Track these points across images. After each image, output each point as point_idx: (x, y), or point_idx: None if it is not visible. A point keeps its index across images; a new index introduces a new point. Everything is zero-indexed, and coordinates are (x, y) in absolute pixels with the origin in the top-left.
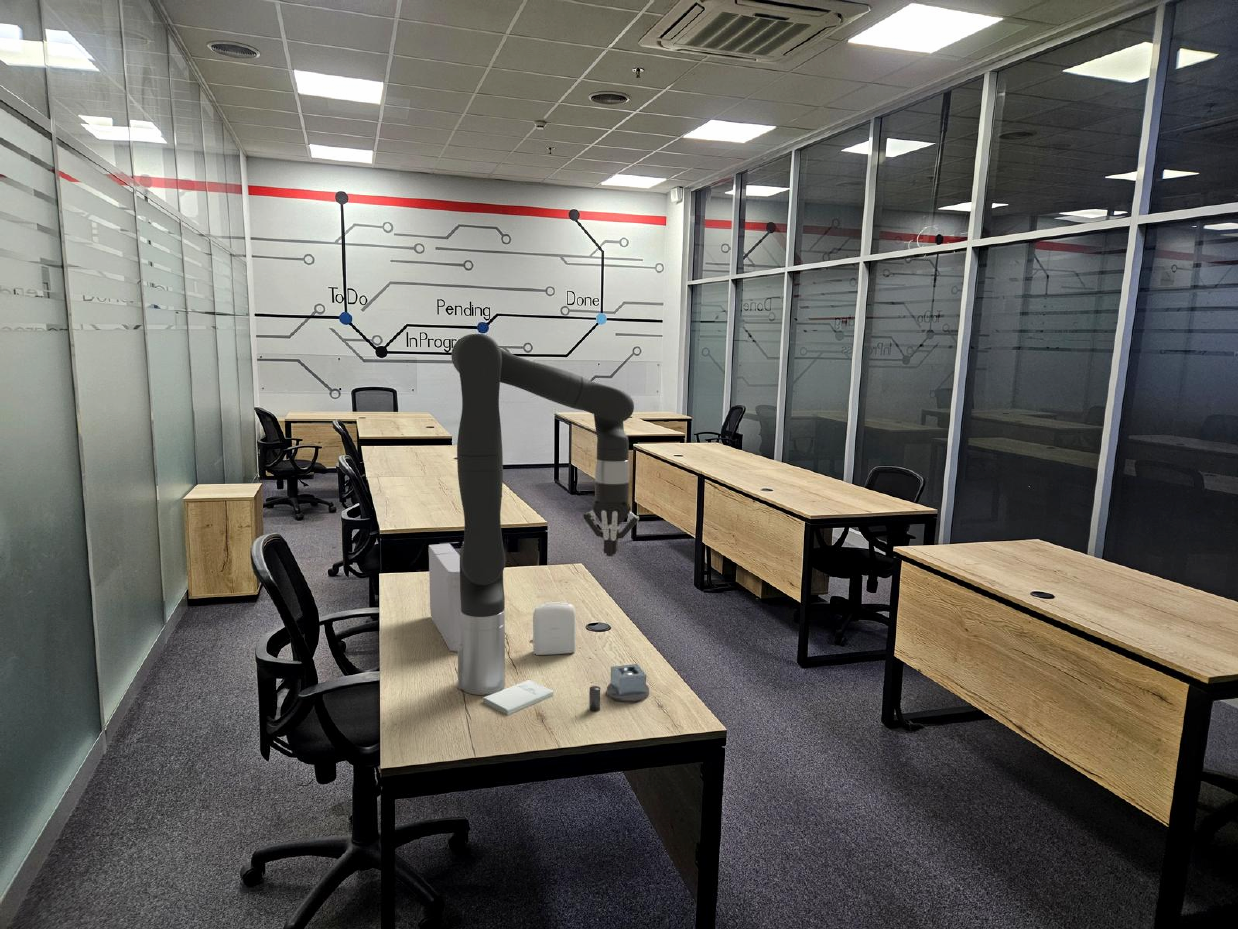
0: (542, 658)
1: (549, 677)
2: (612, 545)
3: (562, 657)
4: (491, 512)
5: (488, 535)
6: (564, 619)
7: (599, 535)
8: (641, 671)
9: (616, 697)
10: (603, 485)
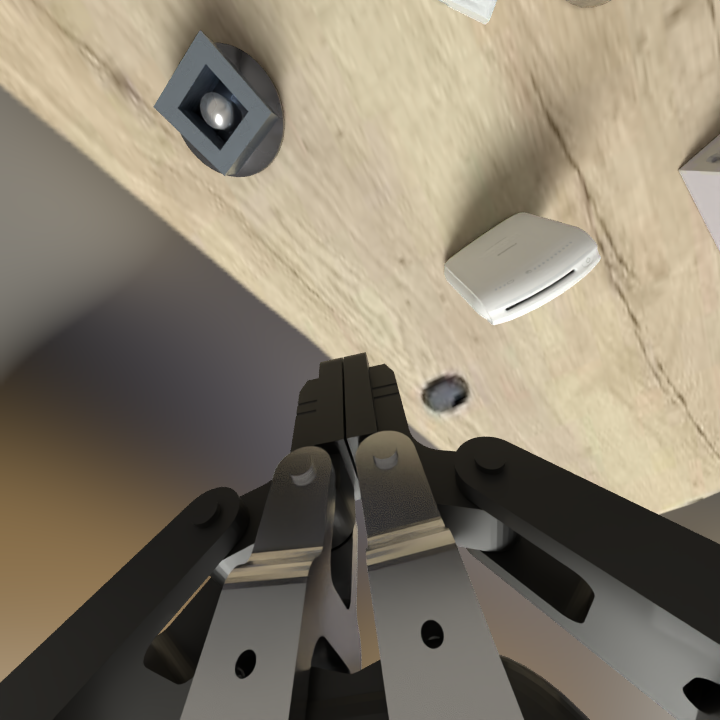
0: (500, 205)
1: (446, 103)
2: (318, 413)
3: (459, 234)
4: None
5: None
6: (493, 272)
7: (468, 451)
8: (181, 127)
9: (224, 45)
10: None
